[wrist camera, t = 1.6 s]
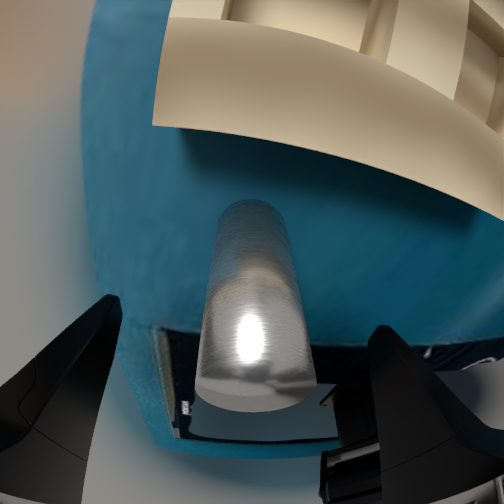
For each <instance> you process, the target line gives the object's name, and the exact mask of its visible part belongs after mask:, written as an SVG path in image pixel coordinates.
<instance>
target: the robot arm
mask: <svg viewBox="0 0 504 504" xmlns="http://www.w3.org/2000/svg"><path fill="white" fill-rule="evenodd" d="M121 322H122V308H121V304H120V299H119V297H118V296H116V295H111V294H107V295H105V296H104V297H102V298H101V299H100V300H99V301H98V302H97V303H95V304H94V305H93V306H92V307H90V308H89V309H88V310H87V311H86V312H85V313H83V314H82V315H81V316H80V317H79V318H77V319H76V320H75V321H74V322H73V323H72V324H71V325H69V326H68V327H67V328H66V329H65V330H64V331H63V332H61V333H60V334H59V335H58V336H57V337H56V338H55V339H54V340H52V341H51V342H50V343H49V344H48V345H47V346H46V347H45V348H44V349H43V350H41V352H39V353H38V354H37V355H36V356H35V358H33V359H32V360H31V361H30V362H29V363H28V364H26V366H24V367H23V368H22V369H21V370H20V371H19V372H18V373H17V374H15V375H14V376H13V377H12V378H10V379H9V380H8V381H7V382H6V383H4V384H3V385H2V386H1V387H0V504H81V501H82V493H83V486H84V479H85V473H86V467H87V461H88V456H89V450H90V446H91V441H92V437H93V432H94V428H95V424H96V419H97V416H98V412H99V408H100V404H101V400H102V397H103V393H104V390H105V386H106V383H107V379H108V376H109V372H110V369H111V366H112V363H113V359H114V355H115V350H116V345H117V340H118V335H119V331H120V326H121ZM368 353H369V365H370V374H363V375H348V376H345V377H343V378H342V379H341V380H340V382H339V383H338V384H337V385H336V386H335V387H334V388H333V389H332V390H331V391H330V392H329V393H328V395H327V396H326V397H325V398H324V399H323V400H322V401H321V402H320V407H333V408H334V413H335V418H336V425H337V431H338V437H339V443H340V448H338V449H335V450H331V451H328V450H327V451H323V452H322V455H321V470H320V488H319V497H321V498H322V500H323V504H504V430H499V429H494V428H490V427H488V426H487V425H485V424H484V423H483V422H482V421H481V420H480V419H479V418H478V417H477V416H475V415H474V414H473V413H472V412H471V411H470V410H469V409H468V408H467V407H466V406H465V405H464V404H463V403H462V402H461V401H460V400H459V399H458V398H457V397H456V396H455V395H454V393H453V392H452V391H451V390H450V389H449V388H448V387H447V386H446V385H445V383H444V382H443V381H442V380H441V379H440V378H439V377H438V376H437V375H436V374H435V373H434V372H433V370H432V369H431V368H430V367H429V366H428V365H427V364H426V363H425V362H424V361H423V360H422V359H421V358H420V357H419V356H418V355H417V354H416V352H415V351H414V350H413V349H412V348H411V347H410V346H409V345H408V344H407V343H406V342H405V341H404V340H403V339H402V338H401V337H400V336H399V335H398V334H397V333H396V332H395V331H394V330H393V329H392V328H391V327H390V326H388V325H379V326H378V327H377V328H376V330H375V331H374V332H373V334H372V335H371V336H370V338H369V340H368ZM377 449H380V450H379V451H376V452H373V453H370V454H367V455H363V456H360V457H356V458H353V459H349V460H346V461H342V462H341V460H343V459H347V458H351V457H354V456H358V455H361V454H364V453H367V452H371V451H374V450H377Z"/></svg>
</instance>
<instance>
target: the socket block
mask: <svg viewBox="0 0 504 504" xmlns="http://www.w3.org/2000/svg"><path fill="white" fill-rule="evenodd" d="M152 125H155V126H168V127H180V128H190V129H199V130H207V131H215V132H223V133H229V134H236V135H242V136H248V137H254V138H260V139H265V140H270V141H275V142H280V143H285V144H290V145H294V146H299V147H303V148H308V149H312V150H316V151H320V152H324V153H328V154H332V155H335V156H339V157H343V158H346V159H350V160H353V161H357V162H360V163H363V164H367V165H370V166H373V167H376V168H379V169H382V170H385V171H388V172H391V173H394V174H397V175H400V176H403V177H406V178H408V179H411V180H414V181H416V182H419V183H422V184H424V185H427V186H429V187H432V188H434V189H437V190H439V191H442V192H444V193H446V194H449V195H451V196H453V197H456V198H458V199H460V200H462V201H465V202H467V203H469V204H471V205H473V206H475V207H477V208H480V209H482V210H484V211H486V212H488V213H490V214H492V215H494V216H496V217H497V218H499V219H501V220H503V221H504V0H173V2H172V6H171V10H170V14H169V18H168V23H167V28H166V32H165V37H164V43H163V48H162V54H161V60H160V66H159V72H158V79H157V86H156V94H155V103H154V112H153V123H152Z"/></svg>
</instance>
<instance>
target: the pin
mask: <svg viewBox="0 0 504 504" xmlns="http://www.w3.org/2000/svg"><path fill="white" fill-rule="evenodd" d="M316 385H317V382H316V376H315V370H314V365H313V359H312V354H311V348H310V343H309V338H308V332H307V327H306V322H305V317H304V312H303V307H302V302H301V297H300V292H299V287H298V283H297V278H296V273H295V269H294V264H293V259H292V255H291V250H290V246H289V242H288V237H287V233H286V229H285V224H284V220H283V218H282V216H281V214H280V213H279V212H278V210H277V209H275V208H274V207H273V206H272V205H270V204H268V203H266V202H263V201H259V200H243V201H239V202H237V203H234V204H232V205H231V206H229V207H228V208H227V209H226V210H225V211H224V212H223V213H222V214H221V216H220V218H219V221H218V224H217V230H216V236H215V242H214V248H213V254H212V261H211V267H210V274H209V280H208V287H207V294H206V301H205V308H204V315H203V323H202V330H201V338H200V346H199V355H198V363H197V372H196V381H195V390H196V392H197V394H198V395H199V396H200V397H201V398H202V399H203V400H205V401H206V402H208V403H210V404H212V405H215V406H217V407H220V408H224V409H227V410H232V411H241V412H264V411H265V412H266V411H273V410H278V409H282V408H286V407H289V406H292V405H295V404H297V403H299V402H301V401H303V400H305V399H306V398H308V397H309V396H310V395H311V394H312V393H313V392H314V390H315V388H316Z"/></svg>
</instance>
